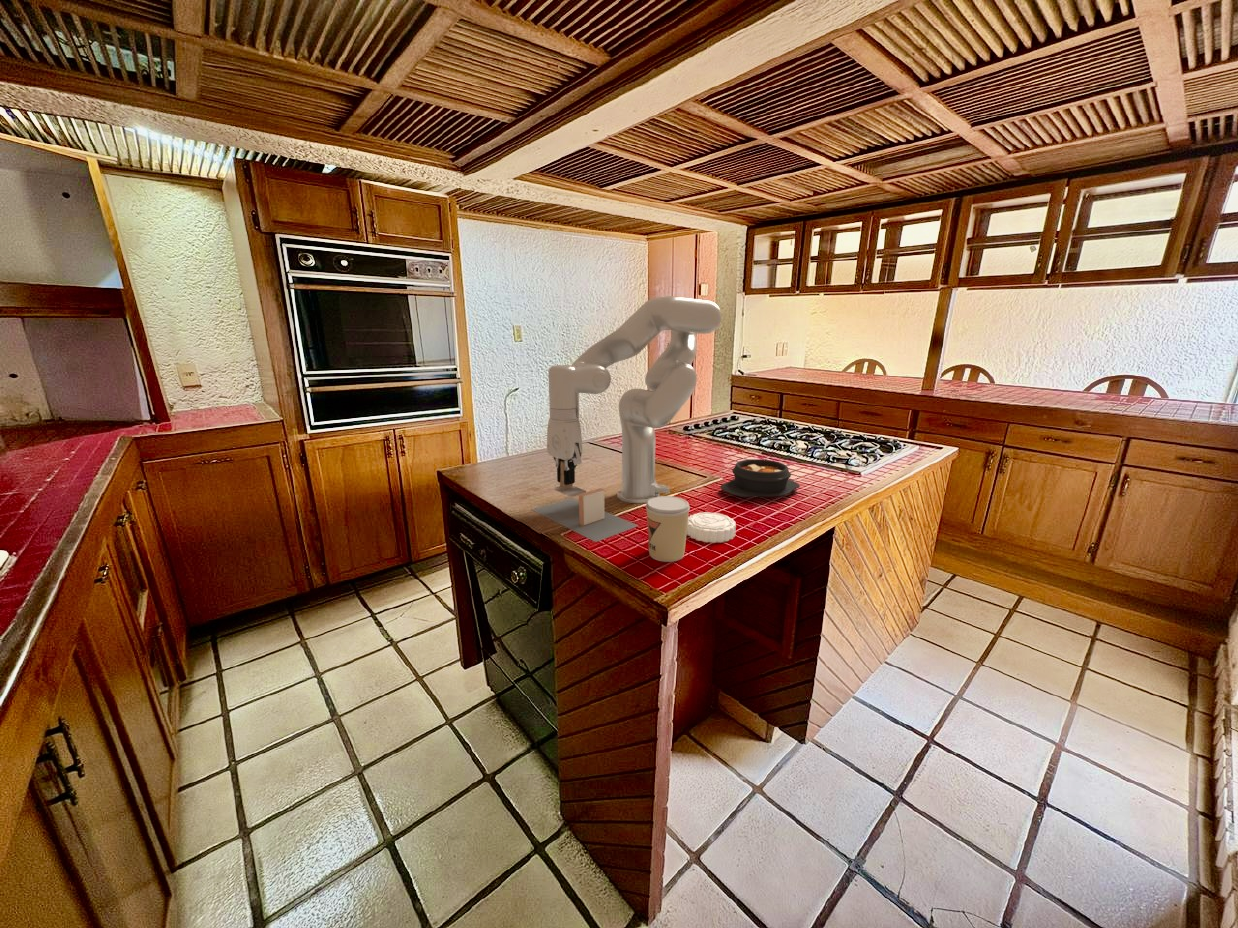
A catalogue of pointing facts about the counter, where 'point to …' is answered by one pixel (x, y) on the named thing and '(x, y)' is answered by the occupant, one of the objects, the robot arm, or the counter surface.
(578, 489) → the wooden stand
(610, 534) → the mat
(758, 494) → the casserole
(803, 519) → the counter surface
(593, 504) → the tile
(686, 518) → the coffee cup
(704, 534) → the mooncake
